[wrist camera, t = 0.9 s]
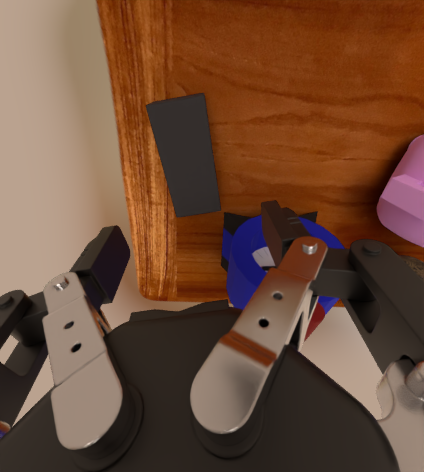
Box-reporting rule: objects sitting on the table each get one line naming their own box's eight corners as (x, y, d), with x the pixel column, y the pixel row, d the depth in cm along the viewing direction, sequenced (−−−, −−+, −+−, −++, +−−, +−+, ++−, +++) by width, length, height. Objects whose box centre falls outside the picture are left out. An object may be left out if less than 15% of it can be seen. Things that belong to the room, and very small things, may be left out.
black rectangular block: (152, 101, 22) (145, 105, 19) (203, 92, 21) (204, 94, 19) (179, 203, 28) (176, 218, 25) (218, 197, 28) (221, 211, 25)
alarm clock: (319, 207, 29) (406, 301, 17) (296, 275, 36) (346, 377, 24) (224, 206, 28) (243, 304, 16) (220, 276, 35) (231, 381, 23)
